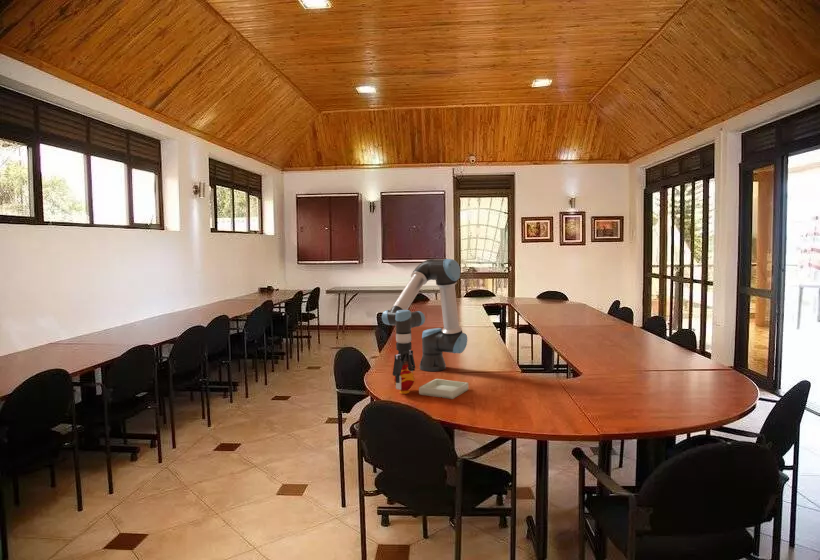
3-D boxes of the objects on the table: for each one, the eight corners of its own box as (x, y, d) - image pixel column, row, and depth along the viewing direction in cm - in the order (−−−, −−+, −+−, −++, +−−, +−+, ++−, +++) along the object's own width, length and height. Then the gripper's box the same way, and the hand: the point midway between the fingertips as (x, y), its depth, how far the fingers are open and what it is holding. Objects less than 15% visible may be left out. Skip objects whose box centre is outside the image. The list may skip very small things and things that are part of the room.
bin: (436, 385, 275) (436, 378, 275) (468, 389, 266) (468, 382, 266) (419, 394, 260) (418, 387, 260) (452, 399, 251) (452, 391, 251)
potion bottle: (397, 396, 258) (396, 365, 257) (392, 390, 268) (391, 360, 267) (418, 394, 260) (417, 363, 259) (412, 388, 270) (411, 359, 269)
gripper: (409, 337, 274) (409, 380, 275) (384, 345, 254) (385, 391, 256) (421, 338, 270) (422, 381, 272) (397, 346, 250) (398, 393, 252)
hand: (404, 386), depth 264 cm, fingers closed on potion bottle, 10 cm apart
